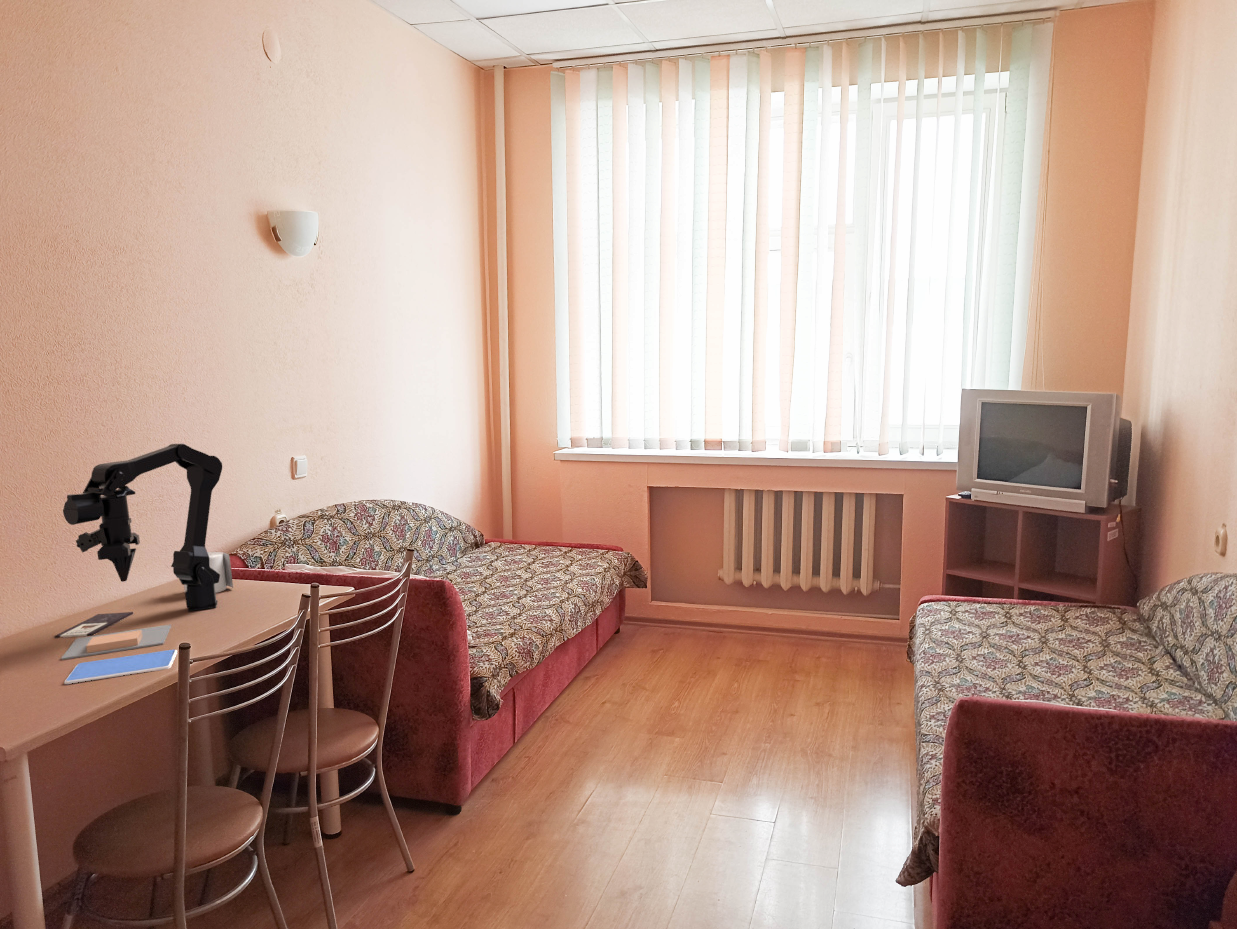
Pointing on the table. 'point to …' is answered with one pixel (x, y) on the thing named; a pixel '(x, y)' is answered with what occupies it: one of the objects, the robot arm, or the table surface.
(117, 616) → the chocolate bar
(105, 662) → the tablet computer
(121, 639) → the tile
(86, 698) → the table surface
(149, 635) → the mat
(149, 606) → the table surface
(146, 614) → the table surface
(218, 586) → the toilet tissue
